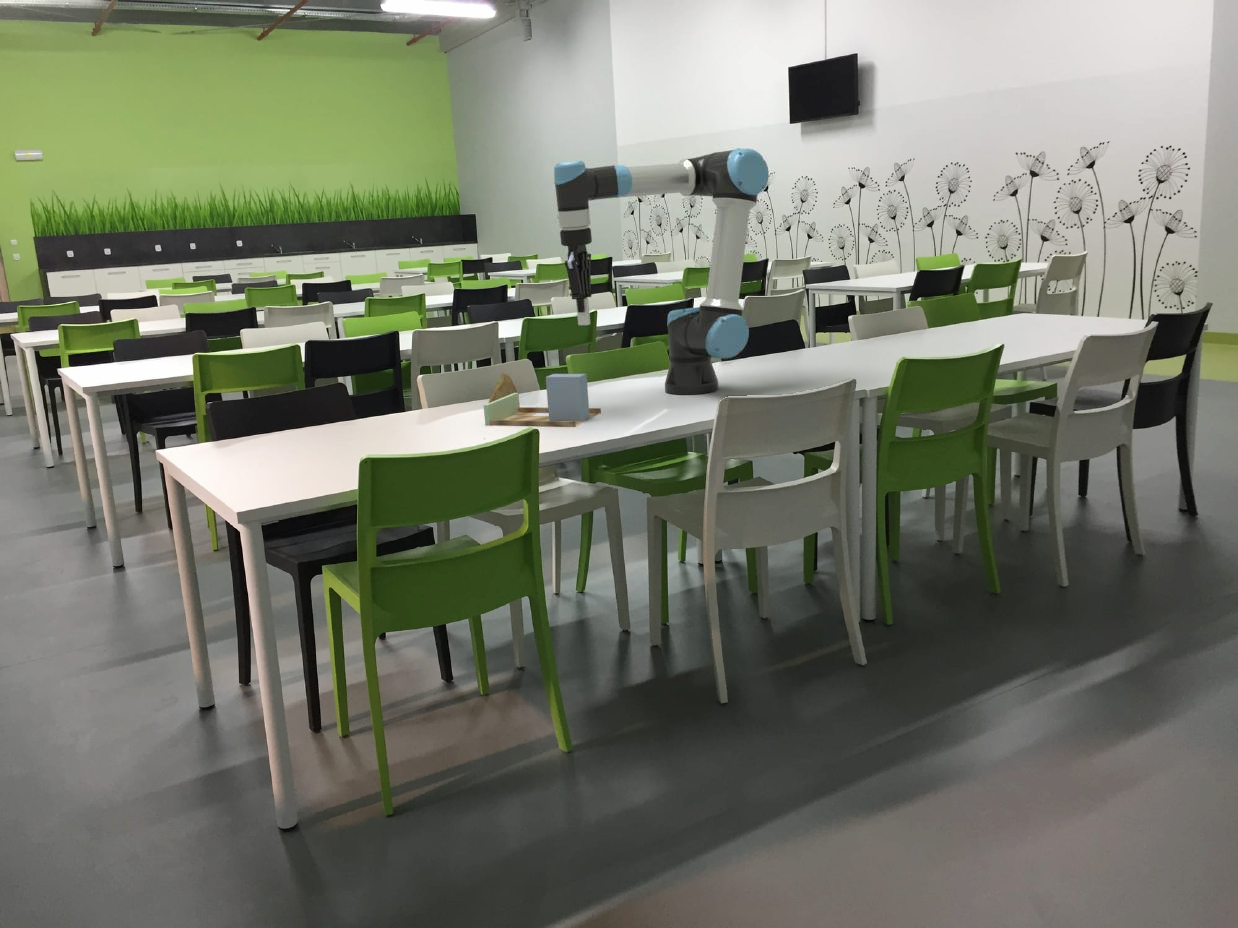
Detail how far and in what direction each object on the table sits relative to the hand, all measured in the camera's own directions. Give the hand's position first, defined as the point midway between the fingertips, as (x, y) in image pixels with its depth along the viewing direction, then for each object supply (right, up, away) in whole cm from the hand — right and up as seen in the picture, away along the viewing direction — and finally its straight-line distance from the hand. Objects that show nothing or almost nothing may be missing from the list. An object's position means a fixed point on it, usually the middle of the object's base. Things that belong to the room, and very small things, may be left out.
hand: (584, 324), depth 248 cm
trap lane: (-10, -24, +2) cm, 26 cm away
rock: (-22, -21, +21) cm, 37 cm away
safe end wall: (-21, -24, +6) cm, 32 cm away
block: (-4, -24, -1) cm, 24 cm away
